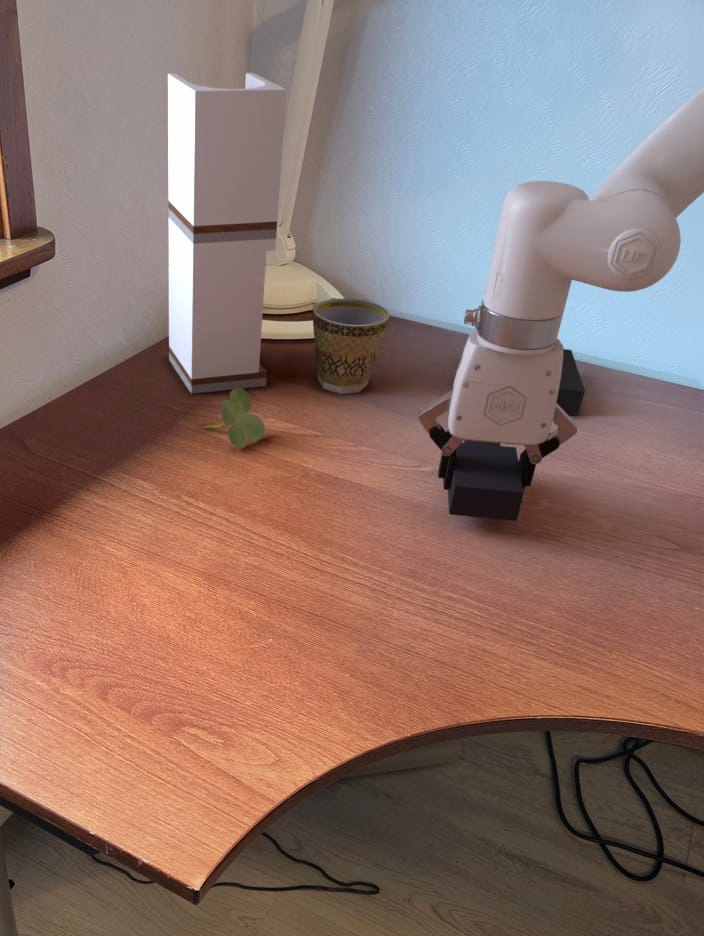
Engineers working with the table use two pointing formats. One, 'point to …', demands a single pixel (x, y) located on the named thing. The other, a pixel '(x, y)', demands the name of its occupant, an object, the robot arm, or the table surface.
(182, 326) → the tall square vase
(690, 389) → the table surface
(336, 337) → the ceramic cup
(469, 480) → the pad
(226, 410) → the green clover leaf
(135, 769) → the table surface
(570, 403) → the notch pad
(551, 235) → the robot arm
